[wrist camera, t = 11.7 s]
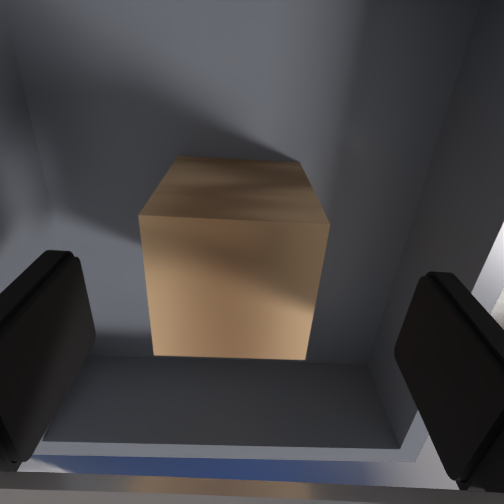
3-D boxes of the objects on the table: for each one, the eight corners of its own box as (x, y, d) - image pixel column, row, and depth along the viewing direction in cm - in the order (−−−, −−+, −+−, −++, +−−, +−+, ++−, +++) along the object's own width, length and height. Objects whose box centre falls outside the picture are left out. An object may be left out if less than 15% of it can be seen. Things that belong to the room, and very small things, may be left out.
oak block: (300, 162, 14) (330, 224, 9) (286, 265, 17) (304, 360, 12) (177, 155, 14) (138, 215, 9) (182, 260, 17) (153, 355, 11)
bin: (511, -54, 12) (719, -137, 7) (374, 364, 22) (415, 462, 17) (-36, -100, 11) (-285, -235, 6) (79, 354, 21) (24, 454, 16)
